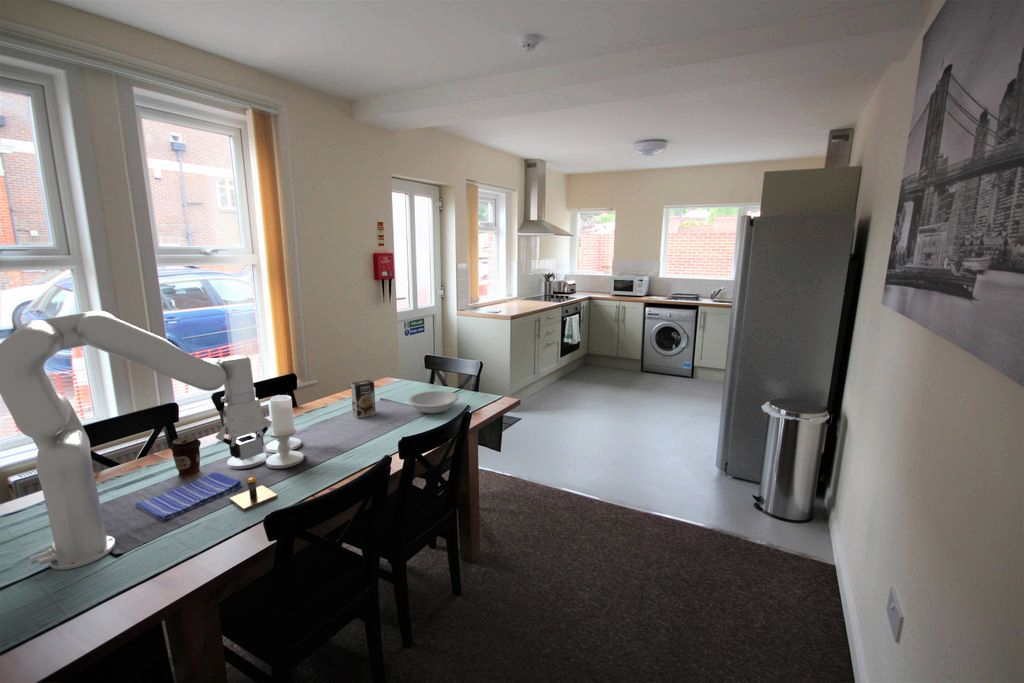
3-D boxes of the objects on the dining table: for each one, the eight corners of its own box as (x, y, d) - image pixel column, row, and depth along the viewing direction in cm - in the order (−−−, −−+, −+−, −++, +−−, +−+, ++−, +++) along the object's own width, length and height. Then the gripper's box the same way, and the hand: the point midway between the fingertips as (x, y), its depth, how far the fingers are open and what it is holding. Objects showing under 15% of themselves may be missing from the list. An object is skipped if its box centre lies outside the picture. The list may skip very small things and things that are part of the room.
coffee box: (357, 419, 215) (355, 385, 212) (352, 415, 220) (350, 382, 217) (376, 414, 221) (374, 382, 218) (371, 411, 226) (369, 379, 222)
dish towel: (244, 488, 154) (243, 480, 154) (163, 523, 134) (161, 515, 134) (215, 475, 163) (214, 468, 162) (135, 507, 143) (133, 499, 142)
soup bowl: (399, 410, 227) (398, 397, 225) (441, 399, 243) (440, 387, 241) (426, 423, 209) (425, 409, 208) (468, 411, 225) (468, 398, 224)
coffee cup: (188, 481, 157) (183, 445, 155) (168, 479, 159) (162, 443, 156) (210, 470, 166) (205, 435, 163) (190, 468, 167) (185, 434, 165)
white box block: (241, 460, 139) (239, 444, 137) (232, 454, 142) (230, 439, 141) (263, 452, 143) (261, 437, 142) (254, 447, 147) (252, 432, 146)
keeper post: (244, 511, 139) (241, 490, 138) (229, 500, 145) (227, 480, 144) (277, 497, 147) (275, 477, 146) (262, 488, 153) (260, 468, 152)
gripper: (213, 407, 130) (222, 466, 134) (275, 392, 144) (281, 446, 147) (203, 402, 135) (211, 459, 138) (264, 387, 148) (270, 440, 152)
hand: (247, 452), depth 143 cm, fingers closed on white box block, 6 cm apart
